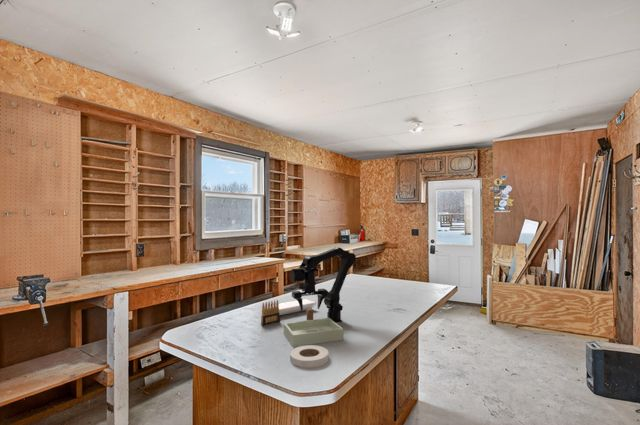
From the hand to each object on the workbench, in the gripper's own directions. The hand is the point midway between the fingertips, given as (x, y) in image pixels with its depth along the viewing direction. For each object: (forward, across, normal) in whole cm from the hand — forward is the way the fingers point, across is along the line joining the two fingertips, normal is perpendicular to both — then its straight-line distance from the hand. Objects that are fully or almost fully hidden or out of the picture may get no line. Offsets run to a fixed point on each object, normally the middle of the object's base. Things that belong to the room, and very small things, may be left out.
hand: (310, 309), depth 169 cm
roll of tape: (+8, +13, +40) cm, 43 cm away
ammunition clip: (+8, +19, -10) cm, 23 cm away
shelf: (+8, +4, -26) cm, 28 cm away
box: (+8, +4, +16) cm, 19 cm away
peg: (+8, 0, 0) cm, 8 cm away
